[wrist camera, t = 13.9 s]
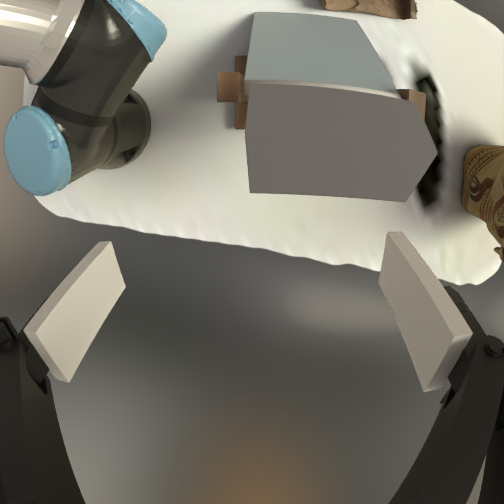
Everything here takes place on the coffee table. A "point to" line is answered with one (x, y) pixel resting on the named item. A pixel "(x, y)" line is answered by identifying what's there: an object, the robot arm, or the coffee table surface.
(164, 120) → the coffee table surface
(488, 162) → the ceramic vessel
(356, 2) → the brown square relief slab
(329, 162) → the trapdoor
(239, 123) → the trapdoor frame
